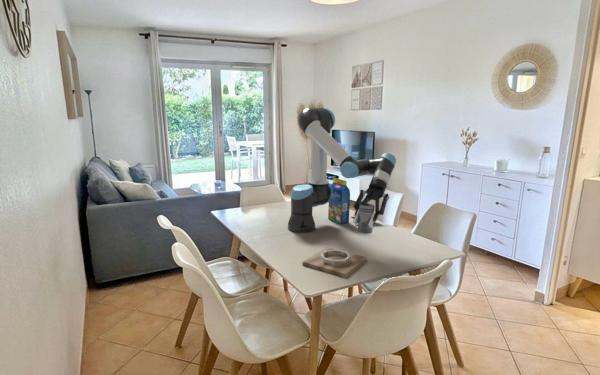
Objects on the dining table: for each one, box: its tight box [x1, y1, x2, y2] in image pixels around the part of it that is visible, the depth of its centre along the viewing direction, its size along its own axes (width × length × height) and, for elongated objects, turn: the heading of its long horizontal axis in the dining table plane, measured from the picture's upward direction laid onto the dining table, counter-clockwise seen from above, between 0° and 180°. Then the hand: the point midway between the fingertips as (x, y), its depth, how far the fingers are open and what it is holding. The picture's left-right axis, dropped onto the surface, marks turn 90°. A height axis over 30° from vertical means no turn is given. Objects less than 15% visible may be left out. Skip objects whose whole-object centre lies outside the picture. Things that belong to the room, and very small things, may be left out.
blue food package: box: [327, 177, 351, 225], centre depth 207 cm, size 6×12×25 cm, turn 33°
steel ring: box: [320, 248, 351, 266], centre depth 150 cm, size 12×12×2 cm
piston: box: [357, 203, 375, 235], centre depth 158 cm, size 6×6×12 cm
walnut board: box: [302, 247, 368, 278], centre depth 151 cm, size 20×20×2 cm
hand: (362, 224), depth 156 cm, fingers closed on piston, 6 cm apart
